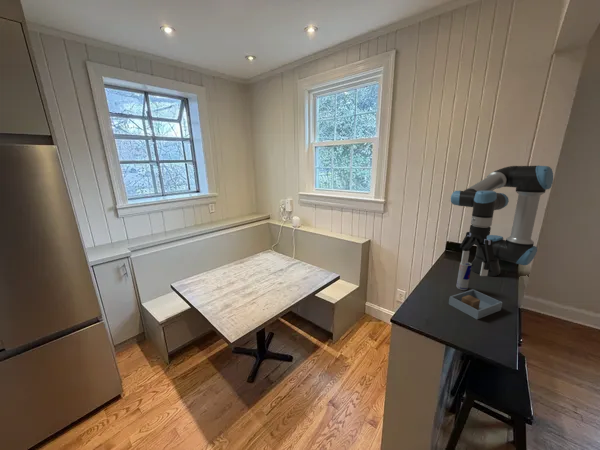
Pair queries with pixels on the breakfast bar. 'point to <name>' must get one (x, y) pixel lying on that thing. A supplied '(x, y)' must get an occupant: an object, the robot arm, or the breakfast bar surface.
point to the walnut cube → (471, 301)
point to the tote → (485, 306)
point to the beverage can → (463, 276)
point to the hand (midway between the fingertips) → (473, 269)
